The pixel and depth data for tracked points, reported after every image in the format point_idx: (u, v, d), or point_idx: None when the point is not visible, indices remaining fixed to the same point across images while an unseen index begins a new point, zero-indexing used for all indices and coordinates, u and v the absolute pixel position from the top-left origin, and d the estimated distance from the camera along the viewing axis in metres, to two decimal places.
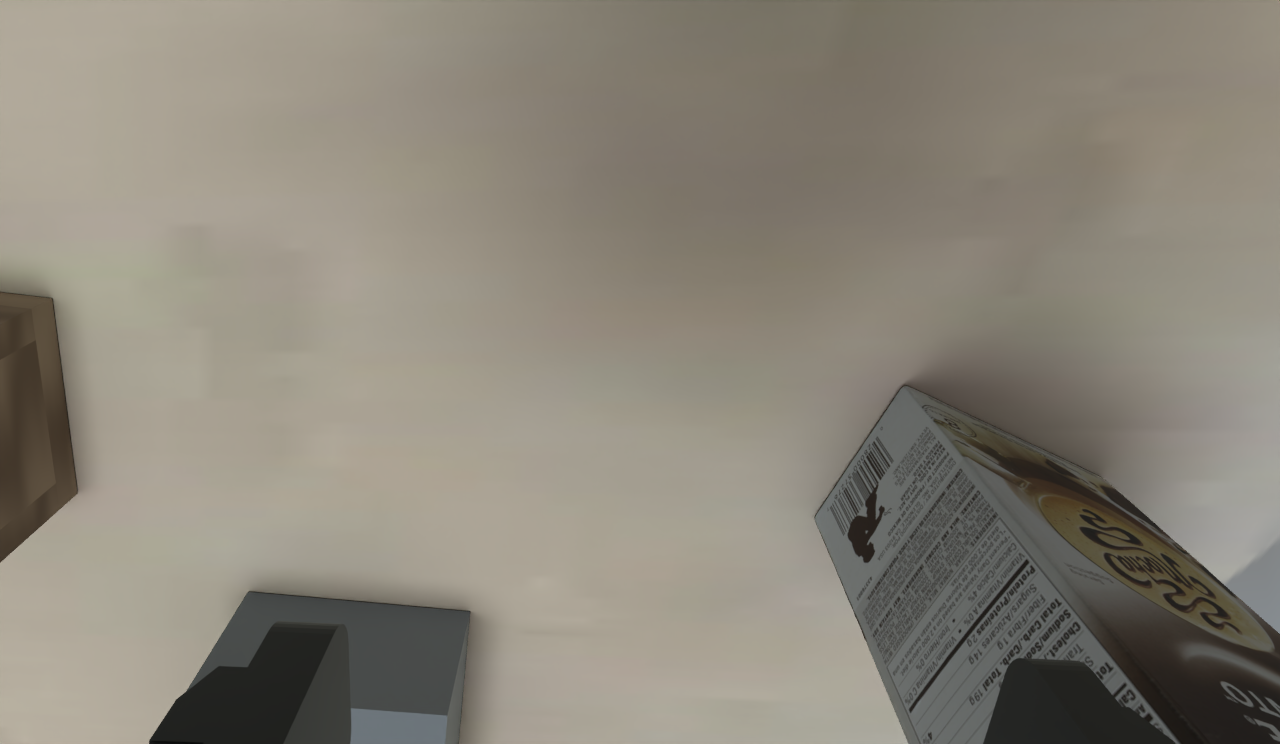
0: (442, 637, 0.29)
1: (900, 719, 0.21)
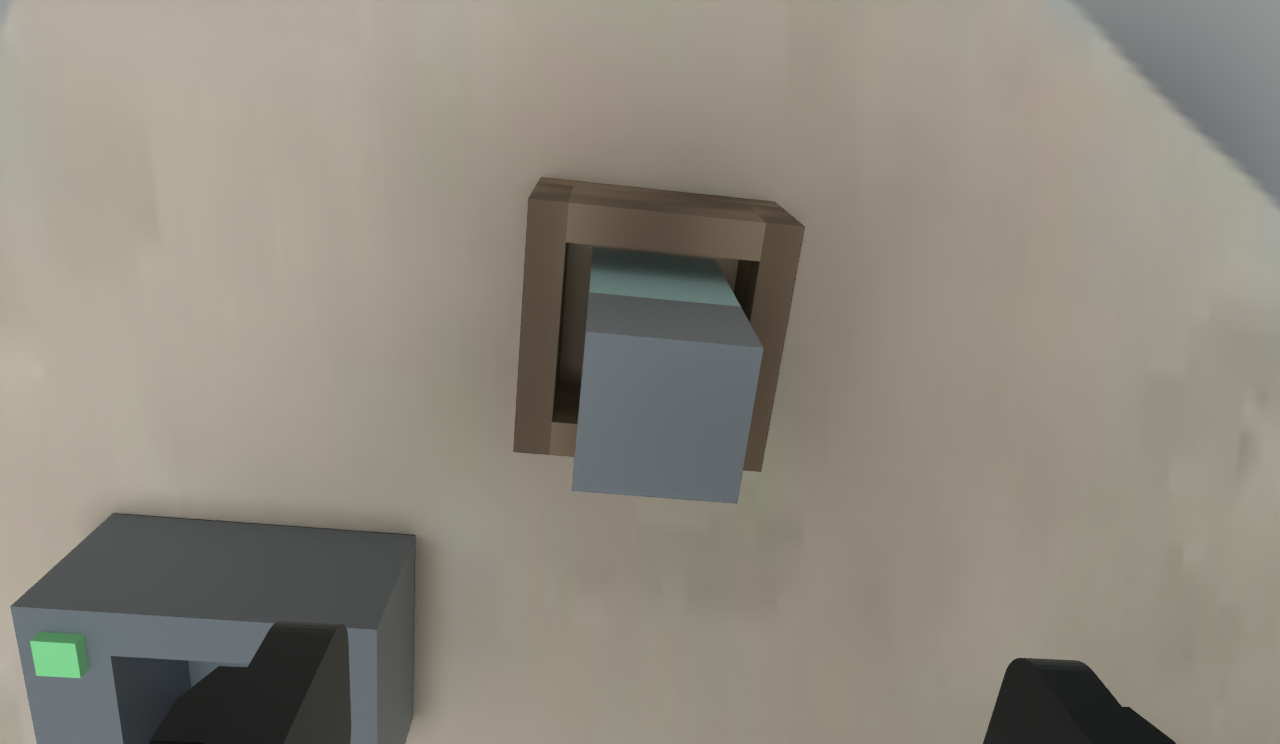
0: (403, 733, 0.29)
1: None
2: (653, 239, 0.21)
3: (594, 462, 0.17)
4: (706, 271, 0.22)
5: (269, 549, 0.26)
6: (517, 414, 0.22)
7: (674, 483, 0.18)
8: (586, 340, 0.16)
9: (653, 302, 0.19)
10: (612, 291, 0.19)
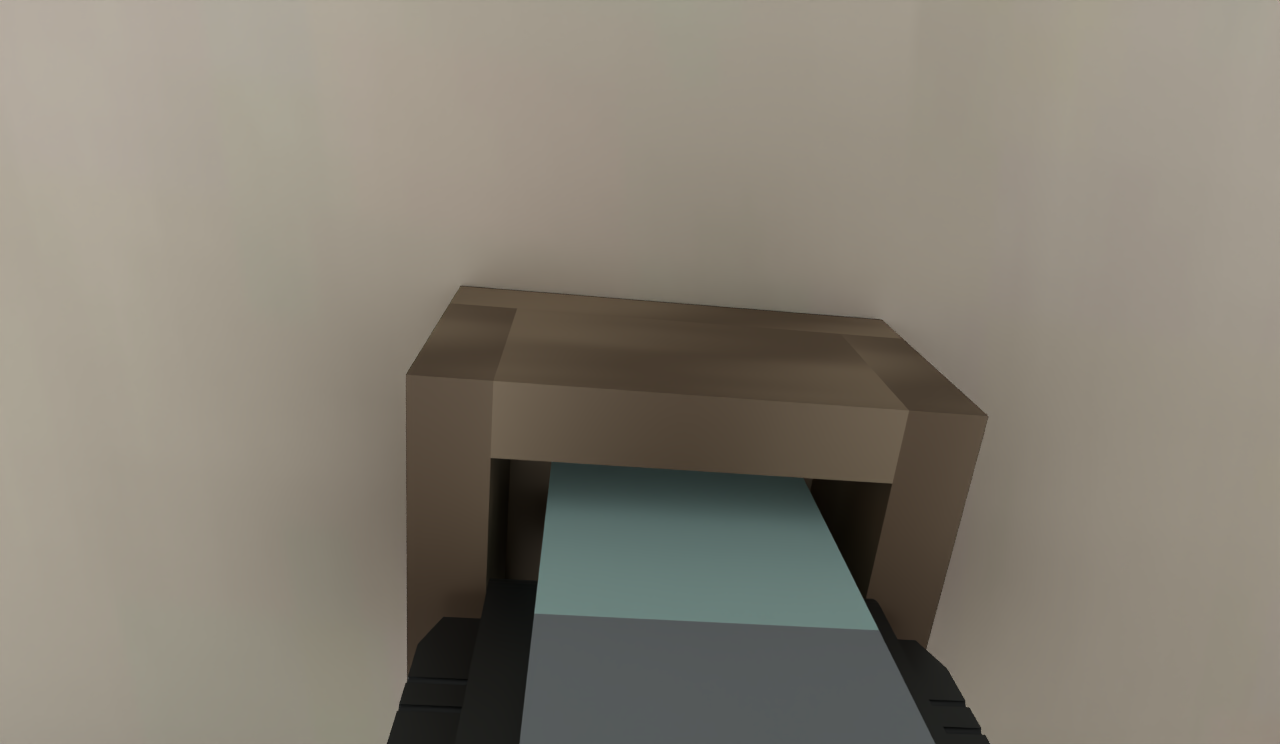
0: None
1: None
2: (675, 447, 0.10)
3: None
4: (773, 477, 0.12)
5: None
6: None
7: None
8: None
9: (684, 644, 0.08)
10: (589, 601, 0.09)
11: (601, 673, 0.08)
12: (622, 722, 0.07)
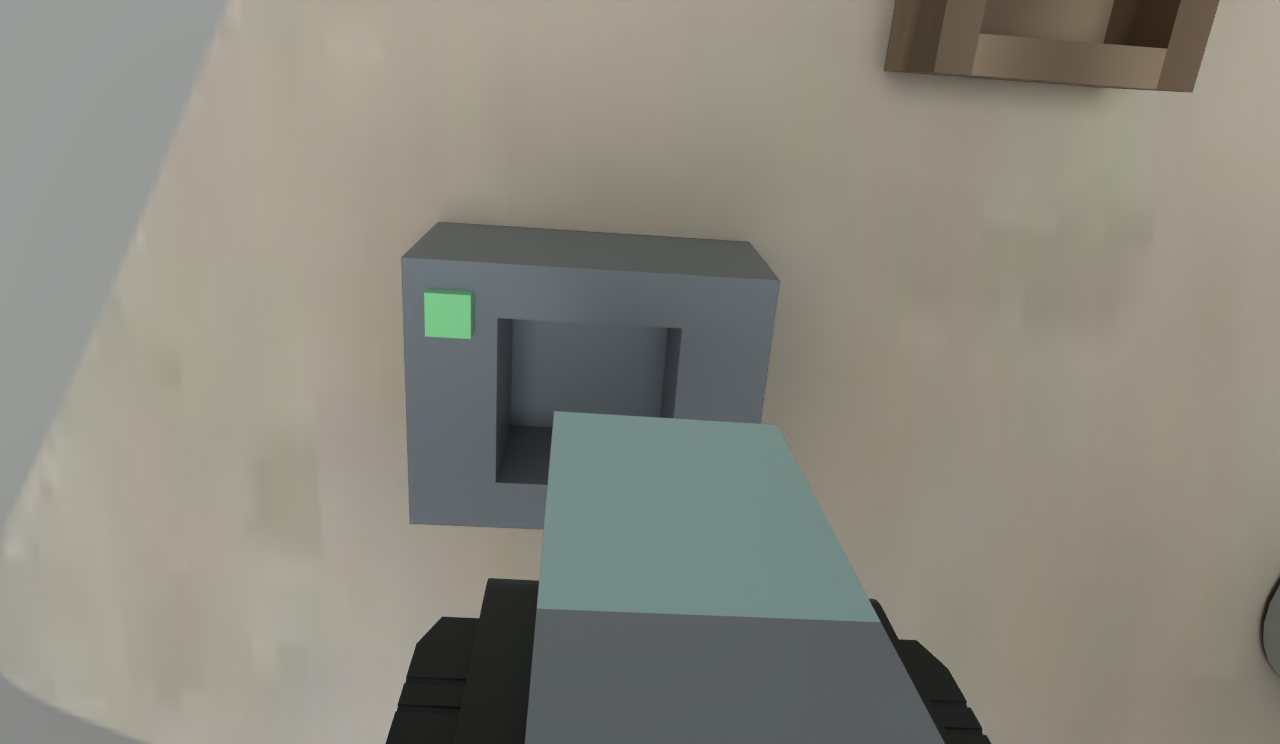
0: None
1: None
2: None
3: None
4: (771, 471, 0.12)
5: (616, 242, 0.25)
6: (944, 24, 0.21)
7: None
8: None
9: (687, 637, 0.08)
10: (591, 596, 0.09)
11: (605, 667, 0.08)
12: (627, 715, 0.07)
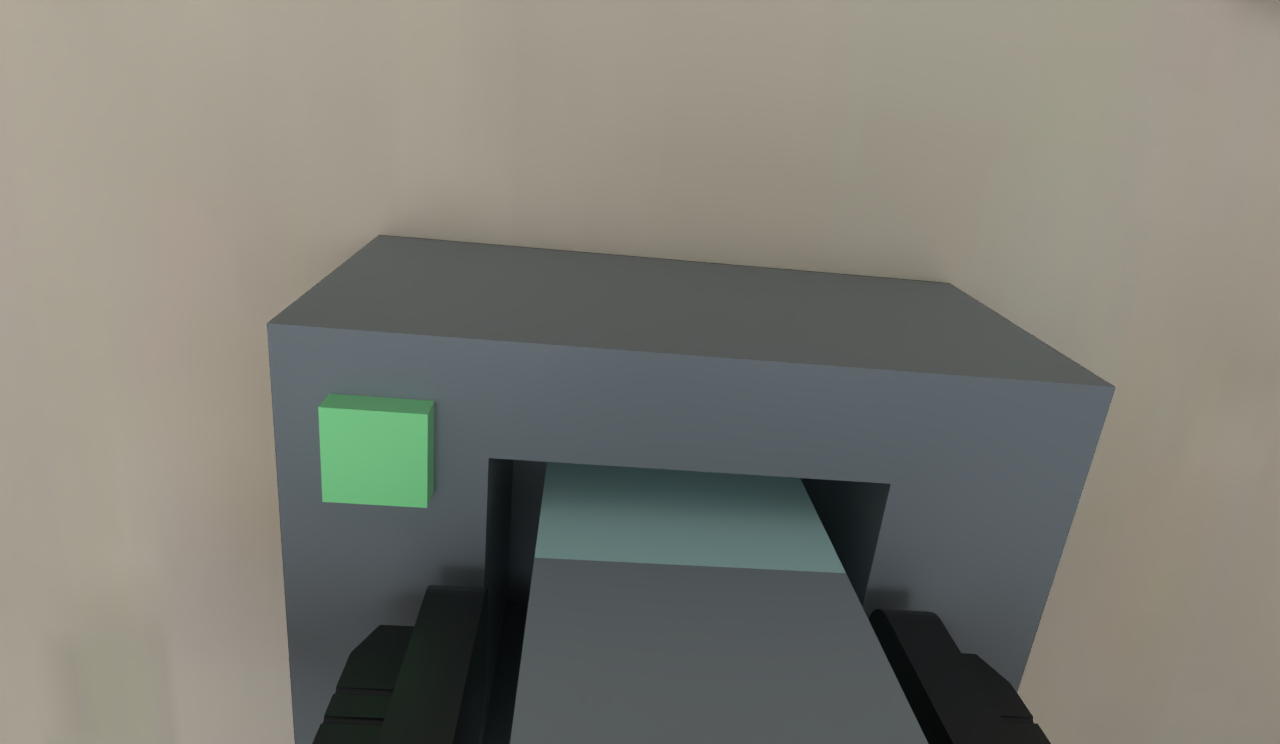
0: None
1: None
2: None
3: None
4: None
5: (721, 283, 0.13)
6: None
7: None
8: None
9: (669, 583, 0.09)
10: (584, 548, 0.09)
11: (594, 606, 0.08)
12: (611, 644, 0.08)
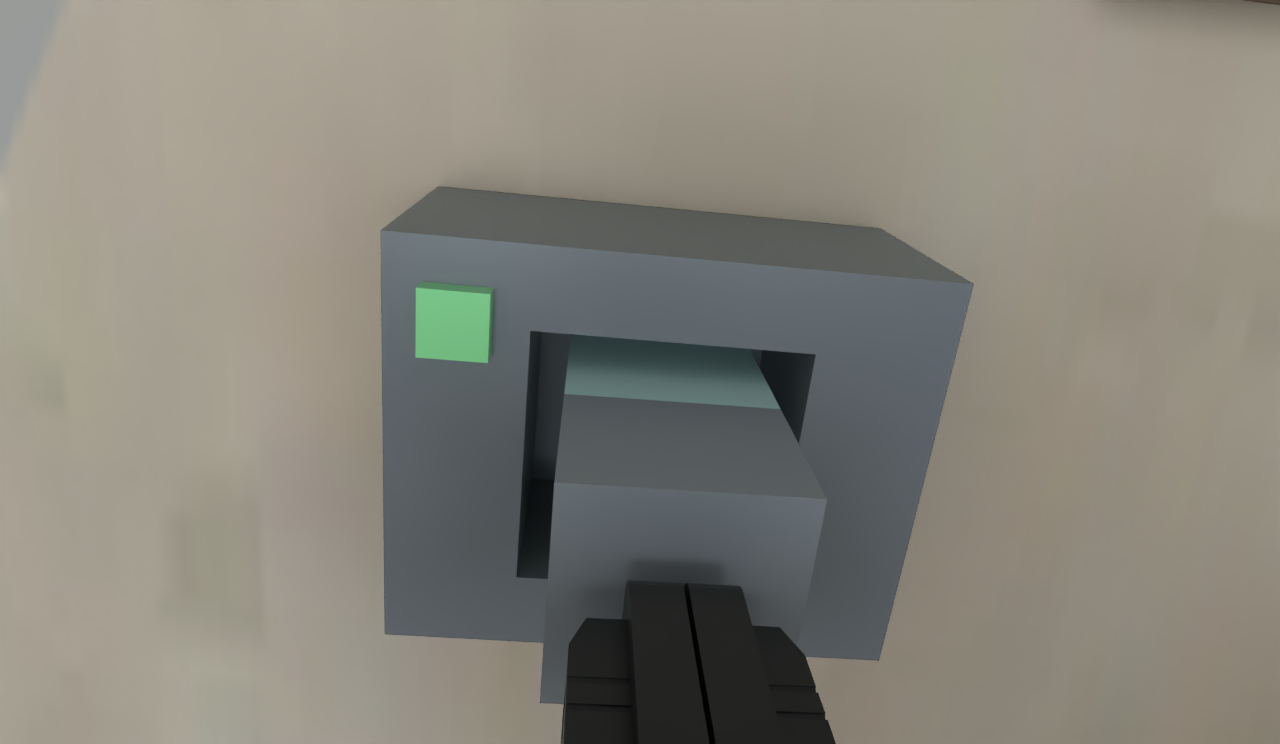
0: None
1: None
2: None
3: None
4: None
5: (700, 222, 0.17)
6: None
7: None
8: (555, 495, 0.11)
9: (656, 409, 0.13)
10: (598, 391, 0.14)
11: (605, 417, 0.13)
12: (618, 434, 0.12)
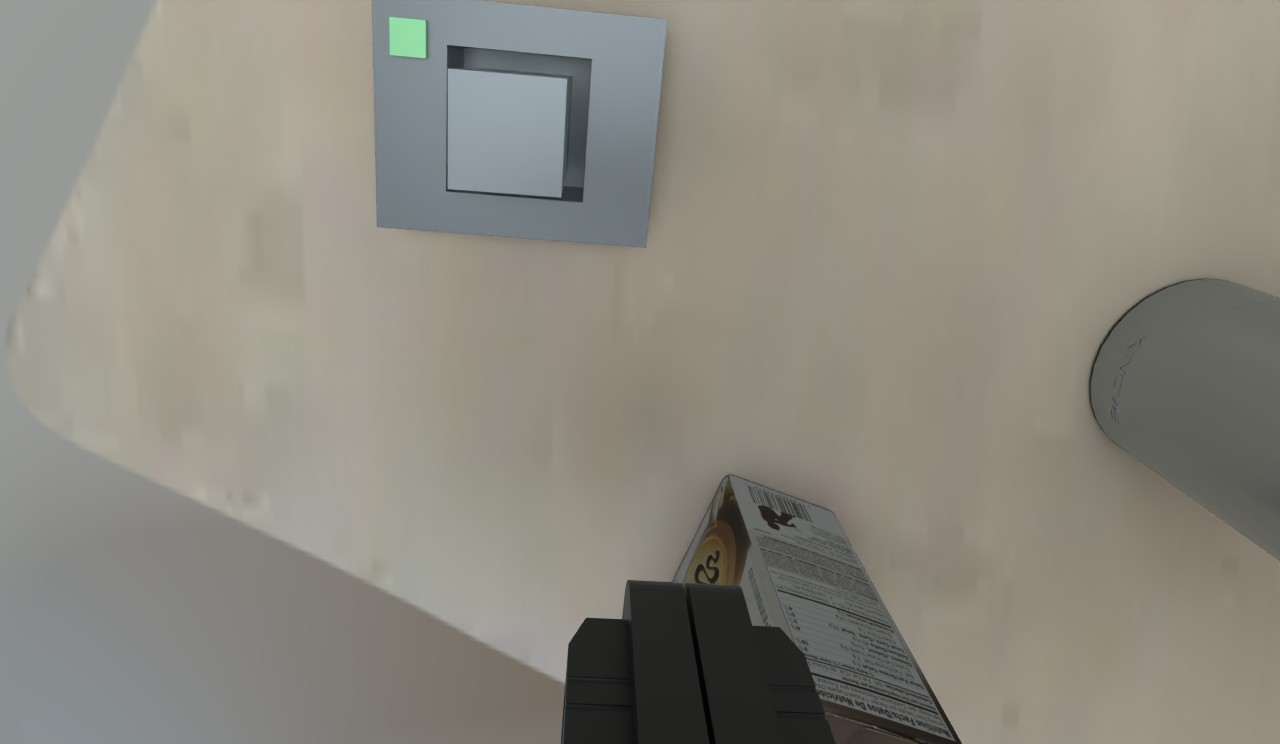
0: None
1: (766, 586, 0.32)
2: None
3: (461, 167, 0.26)
4: (559, 75, 0.31)
5: None
6: None
7: (517, 182, 0.26)
8: (448, 74, 0.25)
9: (506, 72, 0.27)
10: None
11: None
12: None
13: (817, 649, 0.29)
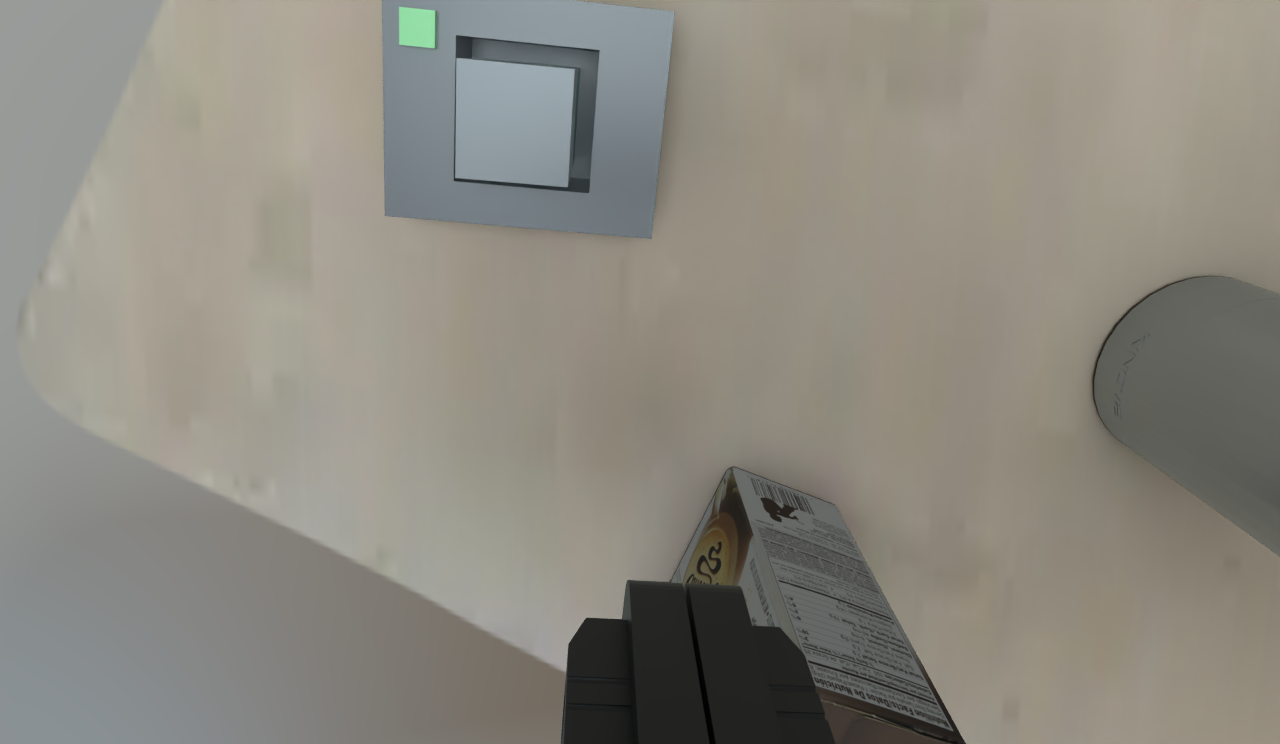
0: None
1: (768, 576, 0.32)
2: None
3: (468, 156, 0.26)
4: None
5: None
6: None
7: (524, 172, 0.26)
8: (457, 64, 0.25)
9: None
10: None
11: (487, 60, 0.27)
12: None
13: (817, 639, 0.29)
